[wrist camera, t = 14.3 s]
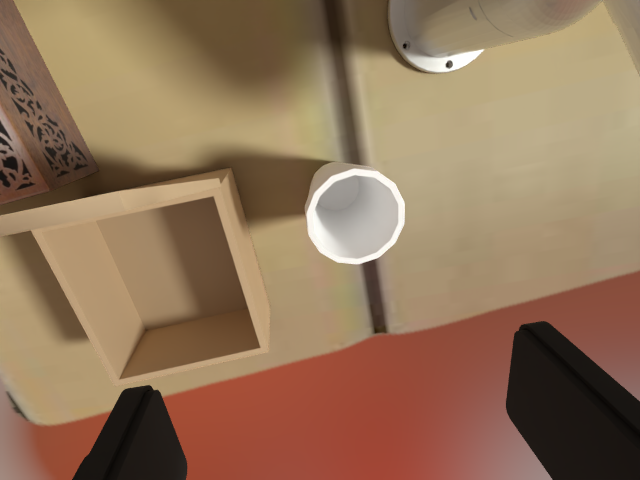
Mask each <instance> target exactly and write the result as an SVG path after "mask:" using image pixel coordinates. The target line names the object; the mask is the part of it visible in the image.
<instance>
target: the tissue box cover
mask: <svg viewBox="0 0 640 480" xmlns="http://www.w3.org/2000/svg"><path fill="white" fill-rule="evenodd" d="M97 171H99V169H98V167H97V165H96V163H95V161H94V159H93V157H92V155H91V153H90V151H89V149H88V147H87V145H86V143H85V141H84V139H83V137H82V135H81V133H80V131H79V130H78V128H77V126H76V124H75V122H74V120H73V118H72V116H71V114H70V112H69V110H68V108H67V106H66V104H65V102H64V100H63V98H62V96H61V94H60V92H59V90H58V88H57V86H56V84H55V82H54V80H53V78H52V76H51V74H50V72H49V70H48V68H47V66H46V64H45V62H44V60H43V58H42V56H41V54H40V52H39V50H38V49H37V47H36V45H35V43H34V41H33V39H32V37H31V35H30V33H29V31H28V29H27V27H26V25H25V23H24V21H23V19H22V17H21V15H20V13H19V11H18V9H17V7H16V5H15V3H14V1H13V0H0V205H2V204H6V203H9V202H13V201H16V200H20V199H23V198H27V197H31V196H34V195H38V194H41V193H45V192H48V191H51V190H54V189H56V188H59V187H61V186H63V185H66V184H68V183H71V182H73V181H75V180H78V179H80V178H83V177H85V176H88V175H90V174H92V173H95V172H97Z"/></svg>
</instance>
